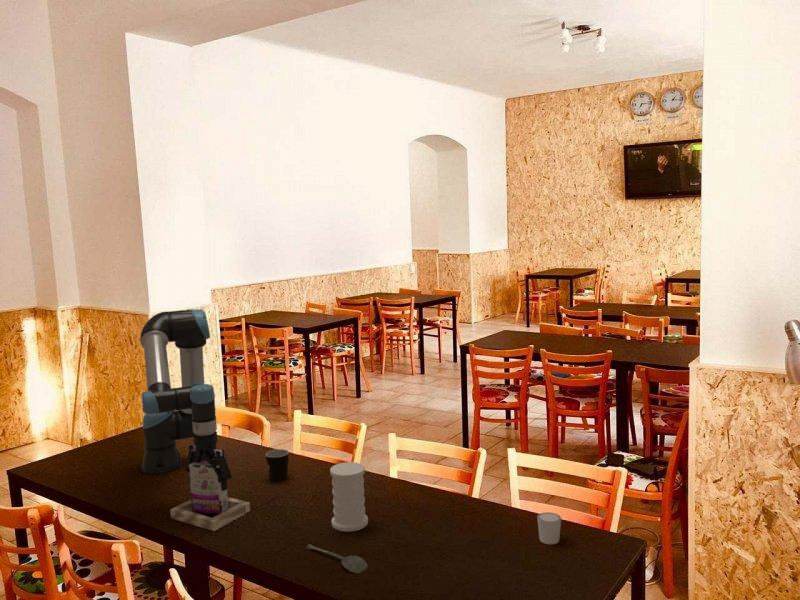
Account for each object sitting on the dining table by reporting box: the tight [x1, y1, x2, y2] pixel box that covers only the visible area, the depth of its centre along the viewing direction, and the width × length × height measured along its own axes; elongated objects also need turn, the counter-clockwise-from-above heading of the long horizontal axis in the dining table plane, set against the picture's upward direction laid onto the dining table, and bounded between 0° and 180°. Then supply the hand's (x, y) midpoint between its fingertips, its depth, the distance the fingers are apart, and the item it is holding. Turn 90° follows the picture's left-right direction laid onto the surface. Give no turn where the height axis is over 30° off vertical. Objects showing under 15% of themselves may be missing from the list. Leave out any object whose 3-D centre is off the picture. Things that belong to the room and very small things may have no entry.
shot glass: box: [536, 512, 562, 545], centre depth 193 cm, size 7×7×7 cm
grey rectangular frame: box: [169, 496, 251, 532], centre depth 218 cm, size 20×16×3 cm
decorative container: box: [329, 461, 369, 533], centre depth 208 cm, size 12×12×18 cm
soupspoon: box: [306, 543, 368, 574], centre depth 187 cm, size 22×3×7 cm
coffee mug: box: [264, 448, 290, 483], centre depth 248 cm, size 12×9×10 cm
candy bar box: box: [188, 460, 229, 515], centre depth 217 cm, size 11×5×16 cm, turn 76°
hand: (209, 495), depth 218 cm, fingers closed on candy bar box, 12 cm apart
